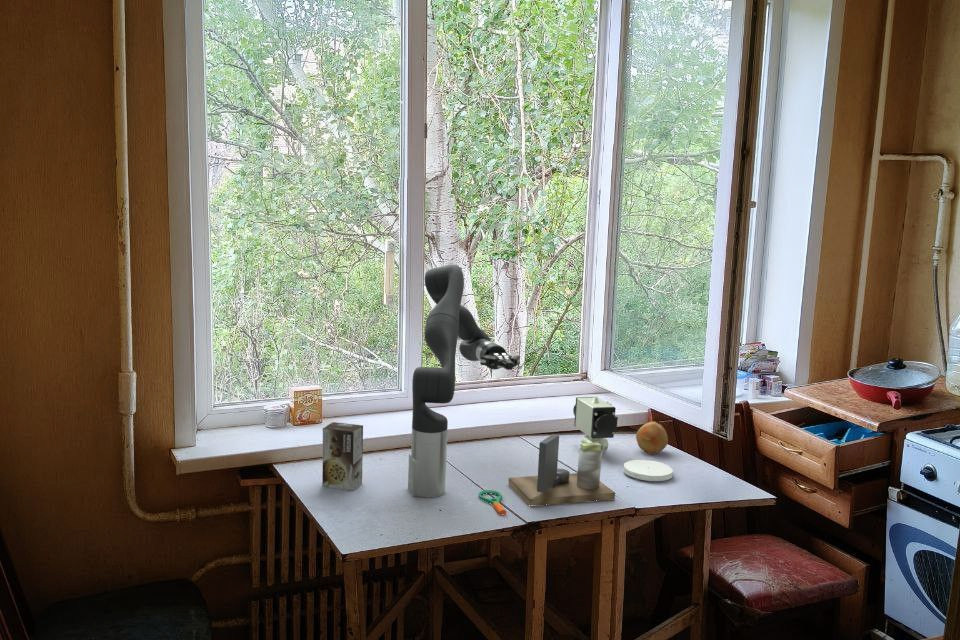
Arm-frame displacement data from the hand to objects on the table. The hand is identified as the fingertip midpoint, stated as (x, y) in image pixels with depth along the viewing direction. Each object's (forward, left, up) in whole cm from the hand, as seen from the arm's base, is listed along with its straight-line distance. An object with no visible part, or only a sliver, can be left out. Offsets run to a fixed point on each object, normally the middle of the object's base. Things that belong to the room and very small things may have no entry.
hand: (510, 366), depth 223 cm
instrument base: (+8, -22, -30) cm, 38 cm away
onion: (+51, +5, -30) cm, 59 cm away
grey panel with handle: (+5, -23, -28) cm, 36 cm away
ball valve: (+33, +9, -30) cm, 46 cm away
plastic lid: (+39, -14, -31) cm, 51 cm away
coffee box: (-48, -6, -30) cm, 57 cm away
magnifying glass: (-12, -26, -31) cm, 42 cm away
